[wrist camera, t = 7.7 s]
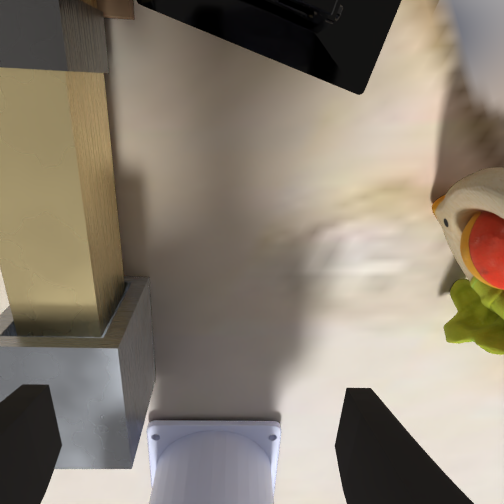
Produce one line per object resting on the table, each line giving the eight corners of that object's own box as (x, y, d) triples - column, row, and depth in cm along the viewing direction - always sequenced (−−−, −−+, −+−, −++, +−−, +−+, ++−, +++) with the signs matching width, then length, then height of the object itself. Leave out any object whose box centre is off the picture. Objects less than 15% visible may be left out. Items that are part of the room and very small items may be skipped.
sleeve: (156, 378, 22) (131, 468, 17) (61, 377, 21) (7, 469, 16) (149, 277, 19) (117, 348, 14) (41, 274, 19) (-31, 346, 14)
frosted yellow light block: (129, 289, 18) (103, 339, 15) (54, 287, 18) (11, 337, 15) (94, -76, 13) (40, -137, 9) (-15, -85, 12) (-114, -150, 9)
